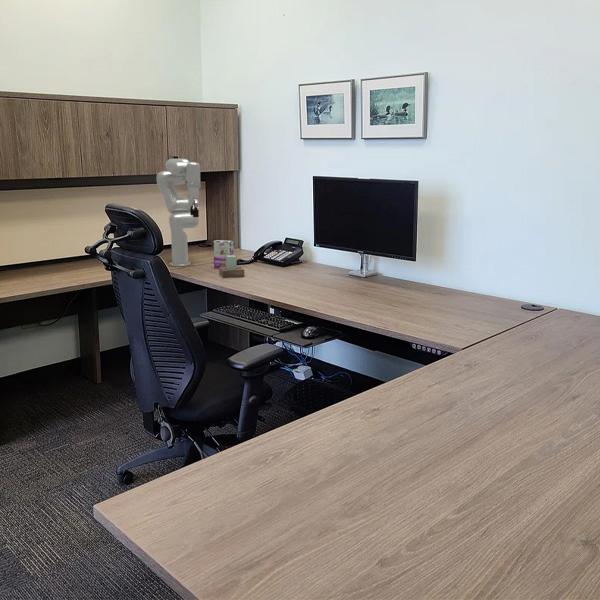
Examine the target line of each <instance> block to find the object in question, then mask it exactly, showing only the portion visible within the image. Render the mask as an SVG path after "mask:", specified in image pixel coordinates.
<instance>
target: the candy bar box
mask: <svg viewBox="0 0 600 600" xmlns="http://www.w3.org/2000/svg"><path fill="white" fill-rule="evenodd" d="M234 253H235V251H234V240H223V239H221V240H219V239H216V240H213V268H214V269H219V267H226V256H227V255H235V254H234Z"/></svg>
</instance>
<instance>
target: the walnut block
mask: <svg viewBox="0 0 600 600" xmlns="http://www.w3.org/2000/svg"><path fill="white" fill-rule="evenodd" d="M218 274H219V275H220V276H221V278H222V277H223V279H226V278H227V279H229V277H234V278H245V269H244V268H242V267H241V265H237V269H227V268H226V267H219V268H218Z"/></svg>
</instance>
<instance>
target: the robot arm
mask: <svg viewBox="0 0 600 600" xmlns="http://www.w3.org/2000/svg"><path fill="white" fill-rule="evenodd" d="M164 166H165V169H166V170H162V171H159V172H158V173H157V174H156V185H157V188H158V189H159V192H160V193H161V194H162V197H163V199H164V203H165V205H166V208H167V211H168V212H169V213H170V215H169V217H168V223H169V228H170V237H171V238H170V240H171V241H170V242H171V257H172V258H171V259H172V260H171V262H169V266H171V267H187V266H188V267H189V266H190V265H191V264H192V263H191V262H190V261H189V254H188V253H189V251H188V246H189V245H188V235H187V233H186V231H185V230H186V229H194V228H197V227H198V226H199V216H200V215H199V211H200V210H199V205H200V193H199V192H200V189H201V165H200V163H199V162H195V161H190V160H189V159H186V158H169V159H168V160H166V162H165V165H164ZM185 183H186V189H188V191H187V194H188V196H187V197H179V194H178V192H177V190H176V189H175V188H173V186H177V185H179V186H181V185H185ZM184 229H185V230H184Z"/></svg>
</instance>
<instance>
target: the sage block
mask: <svg viewBox="0 0 600 600" xmlns="http://www.w3.org/2000/svg"><path fill="white" fill-rule="evenodd" d="M237 266H238V265H237V256H236V255H235V254H234V255H227V256H226V268H227V269H237Z"/></svg>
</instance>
